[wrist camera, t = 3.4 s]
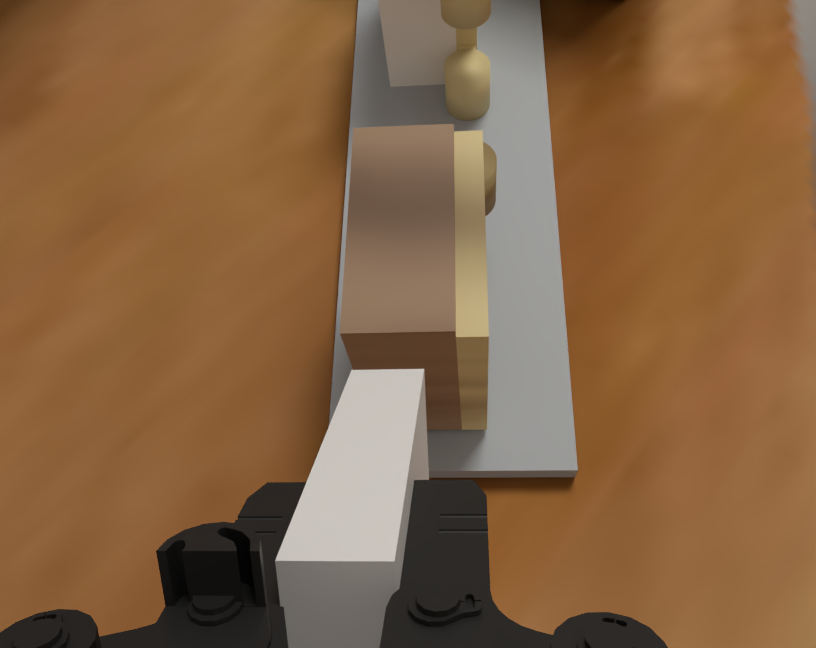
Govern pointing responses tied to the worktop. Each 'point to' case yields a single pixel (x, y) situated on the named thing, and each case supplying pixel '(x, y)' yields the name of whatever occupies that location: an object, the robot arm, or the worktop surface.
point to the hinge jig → (505, 225)
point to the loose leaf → (421, 263)
